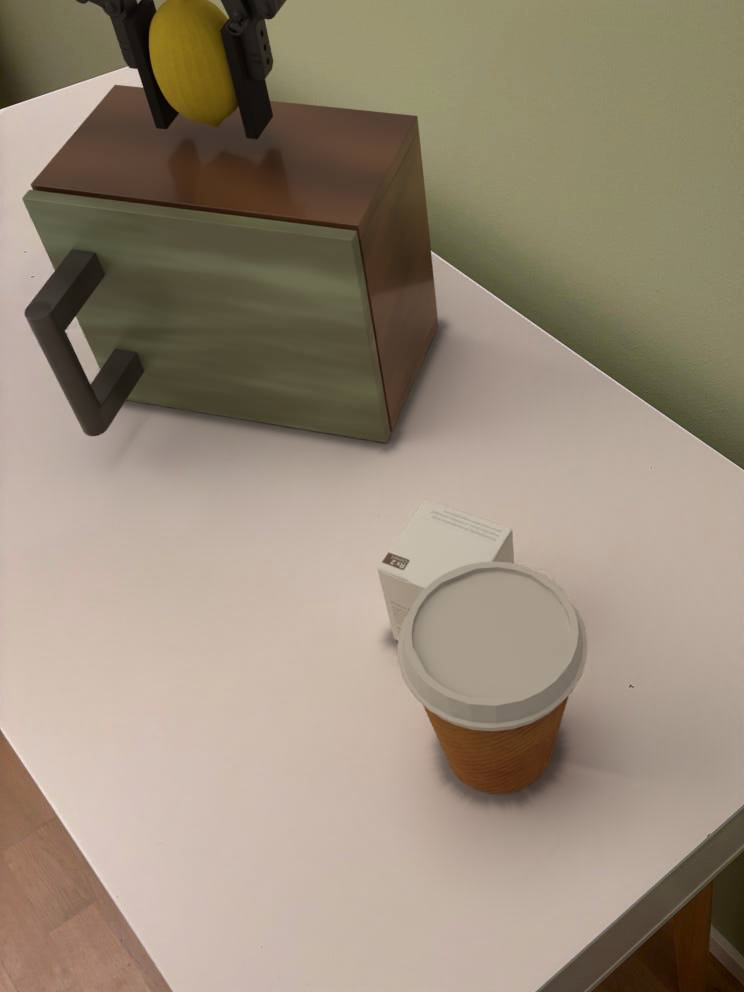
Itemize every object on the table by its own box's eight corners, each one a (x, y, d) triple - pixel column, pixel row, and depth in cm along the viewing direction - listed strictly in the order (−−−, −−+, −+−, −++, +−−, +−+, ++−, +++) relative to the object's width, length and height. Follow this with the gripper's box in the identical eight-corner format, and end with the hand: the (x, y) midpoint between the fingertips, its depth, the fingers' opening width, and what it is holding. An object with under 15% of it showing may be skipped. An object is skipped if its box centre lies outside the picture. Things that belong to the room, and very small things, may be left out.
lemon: (245, 152, 64) (210, 16, 58) (161, 148, 65) (117, 14, 58) (268, 104, 67) (238, -30, 61) (188, 101, 68) (149, -32, 61)
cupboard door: (355, 514, 71) (311, 316, 57) (69, 463, 75) (-37, 266, 61) (391, 433, 75) (357, 230, 61) (118, 389, 79) (28, 188, 65)
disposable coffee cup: (502, 853, 57) (494, 752, 47) (384, 749, 61) (354, 635, 51) (614, 740, 60) (628, 624, 50) (495, 649, 64) (487, 524, 54)
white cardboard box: (518, 600, 66) (516, 526, 60) (476, 674, 63) (469, 604, 57) (434, 570, 68) (424, 495, 62) (390, 640, 65) (374, 568, 59)
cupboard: (392, 432, 75) (358, 225, 61) (120, 388, 79) (29, 184, 65) (438, 325, 82) (417, 115, 67) (184, 289, 86) (114, 84, 71)
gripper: (301, -397, 47) (370, 104, 66) (-53, -400, 50) (110, 78, 70) (238, -347, 43) (331, 171, 62) (-142, -354, 47) (57, 139, 66)
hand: (214, 121), depth 66 cm, fingers closed on lemon, 5 cm apart
